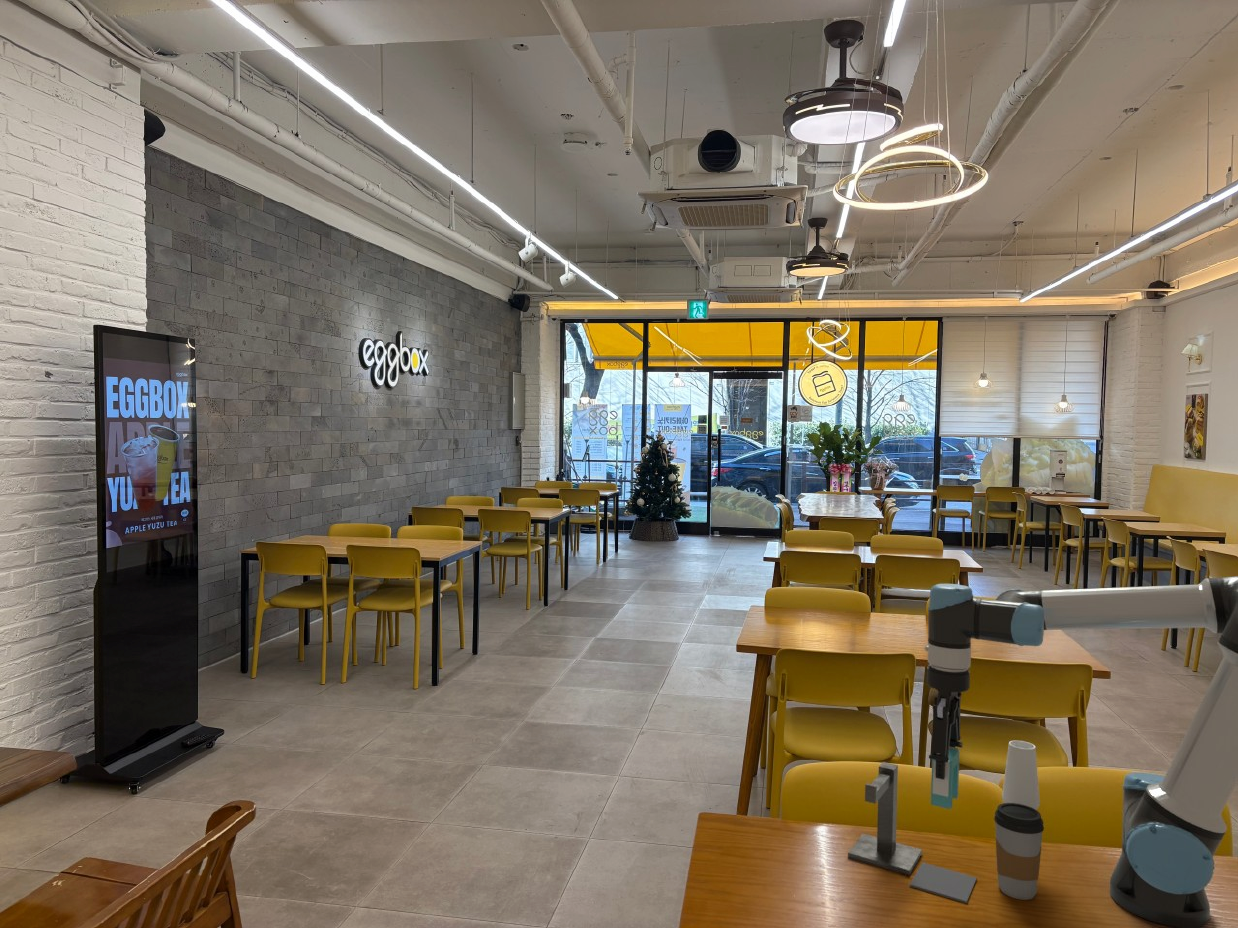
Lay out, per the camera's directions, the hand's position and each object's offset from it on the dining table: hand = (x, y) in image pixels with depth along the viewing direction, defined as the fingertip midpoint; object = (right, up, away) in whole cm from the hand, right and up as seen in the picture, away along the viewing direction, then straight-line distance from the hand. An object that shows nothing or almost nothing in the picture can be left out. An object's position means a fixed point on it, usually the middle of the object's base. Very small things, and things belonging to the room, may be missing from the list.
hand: (945, 786), depth 153 cm
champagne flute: (+18, -19, +8) cm, 27 cm away
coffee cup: (+13, -19, -2) cm, 23 cm away
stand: (-10, -18, +7) cm, 22 cm away
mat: (0, -18, 0) cm, 18 cm away
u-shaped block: (0, -3, 0) cm, 3 cm away
